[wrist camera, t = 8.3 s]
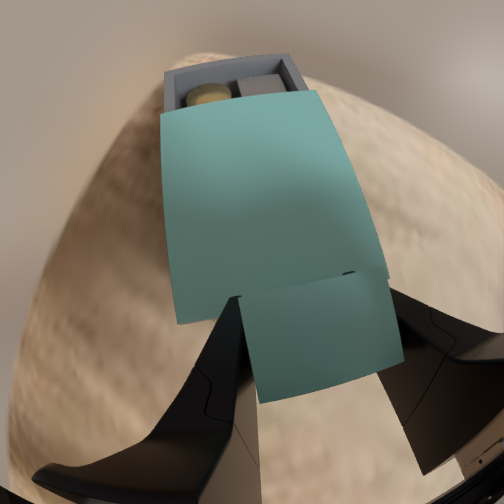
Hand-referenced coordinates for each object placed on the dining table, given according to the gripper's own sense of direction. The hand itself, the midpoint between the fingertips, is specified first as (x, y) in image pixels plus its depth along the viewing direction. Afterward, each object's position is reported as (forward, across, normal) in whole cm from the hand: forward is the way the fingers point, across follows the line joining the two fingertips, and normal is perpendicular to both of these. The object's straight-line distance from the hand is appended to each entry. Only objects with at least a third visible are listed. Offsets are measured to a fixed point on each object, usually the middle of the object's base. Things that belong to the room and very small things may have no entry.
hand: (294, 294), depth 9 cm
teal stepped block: (+7, 0, +1) cm, 7 cm away
